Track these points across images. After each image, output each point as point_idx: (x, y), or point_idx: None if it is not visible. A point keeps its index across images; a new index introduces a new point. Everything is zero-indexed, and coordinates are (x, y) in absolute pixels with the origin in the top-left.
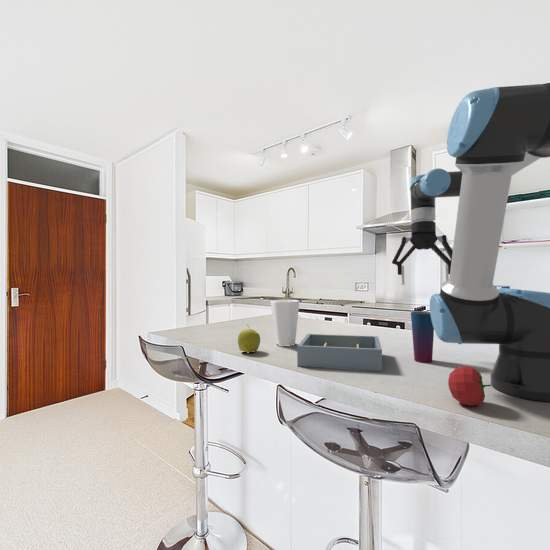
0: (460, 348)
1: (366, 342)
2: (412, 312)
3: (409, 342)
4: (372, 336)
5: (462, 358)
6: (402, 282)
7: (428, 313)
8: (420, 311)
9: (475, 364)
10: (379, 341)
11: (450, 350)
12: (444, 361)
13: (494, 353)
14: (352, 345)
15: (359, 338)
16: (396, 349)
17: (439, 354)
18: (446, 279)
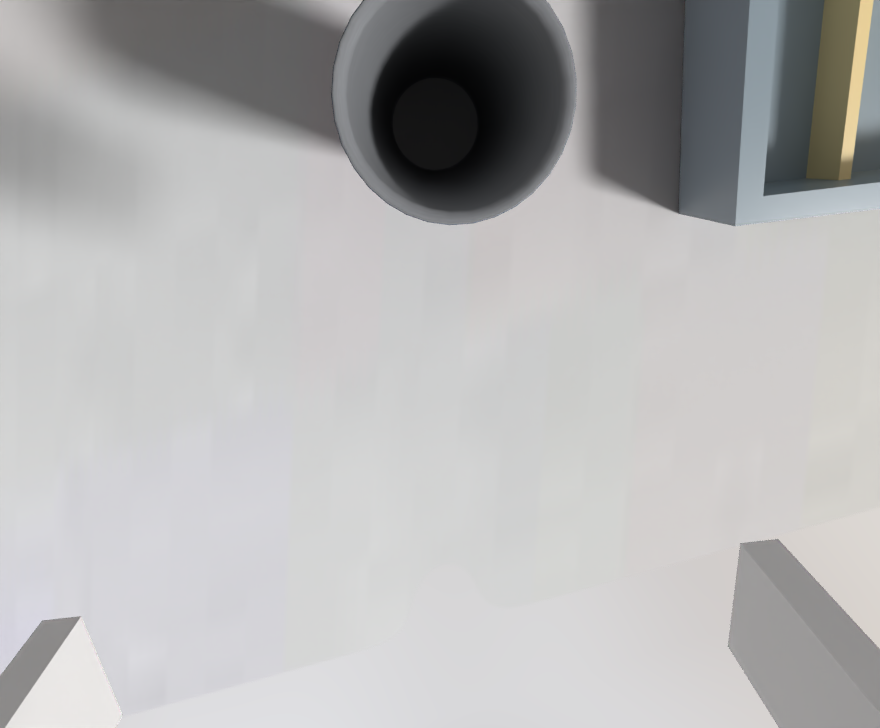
0: (225, 494)
1: (793, 187)
2: (554, 135)
3: (483, 556)
4: (776, 205)
5: (222, 258)
6: (794, 567)
7: (392, 188)
8: (469, 215)
9: (159, 133)
10: (749, 11)
11: (278, 431)
12: (319, 150)
13: (60, 430)
14: (869, 174)
15: (858, 182)
16: (565, 365)
17: (339, 316)
18: (21, 694)
